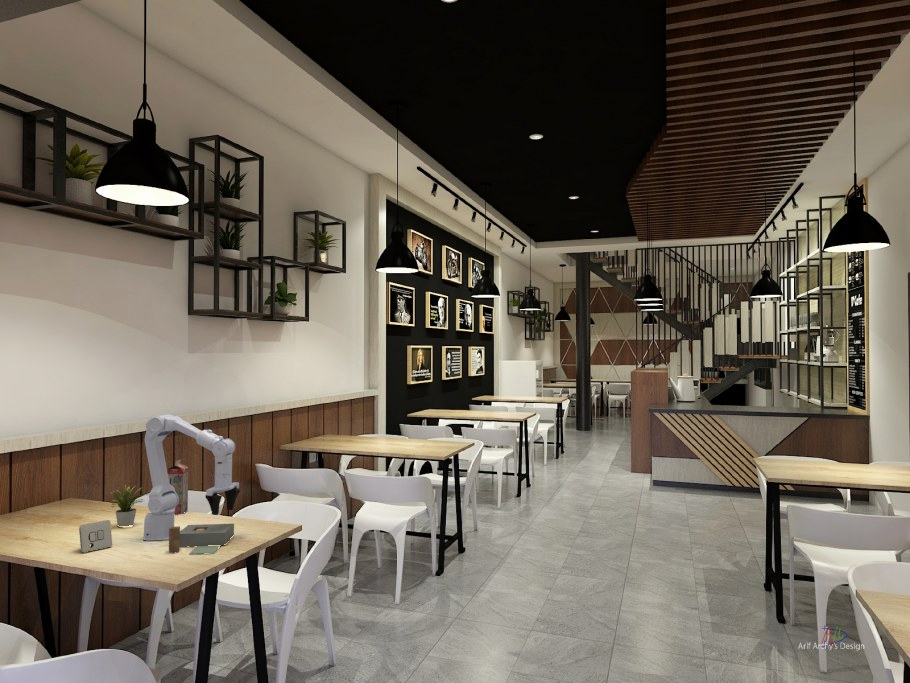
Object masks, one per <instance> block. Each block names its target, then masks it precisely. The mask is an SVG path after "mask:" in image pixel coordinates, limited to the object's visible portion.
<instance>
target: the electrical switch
mask: <svg viewBox="0 0 910 683" xmlns="http://www.w3.org/2000/svg"><path fill="white" fill-rule="evenodd" d="M78 530H79V541H80V542H79V543H80V544H79V545H80V552H81V553H82V552H87V551H92V552H94V551H93V550H97V551H99V550H98V549H101V550H104V549H103V548H106V549H108V548H107V547H110V548H112V547H113V537H112V536H113V535H112V525H111V520H110V519H105V520H100V521H94V522H89V523H83V524H80V525H79V528H78ZM111 546H112V547H111Z"/></svg>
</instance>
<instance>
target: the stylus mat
mask: <svg viewBox="0 0 910 683" xmlns="http://www.w3.org/2000/svg"><path fill="white" fill-rule="evenodd" d="M218 547H219V546H197V547H193V549H192V550H191V551H190V552H189V553H188V555H189V554H197V555H205V554H204V553H215V552H216V551H217V550H218ZM218 551H219V550H218ZM218 551H217V552H218ZM217 552H216V553H217ZM216 553H215V554H216Z"/></svg>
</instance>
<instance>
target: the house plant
mask: <svg viewBox="0 0 910 683" xmlns="http://www.w3.org/2000/svg"><path fill="white" fill-rule="evenodd" d="M136 485H137V484H135V485H133V487H132V488H131V489H130V487H131V486H128V487H127V484H125V485H124V494H123V493H122V492H121V490H120V489H117V488H116V489H115V490H112V491H110V492H109V493H110V494H111V495H113V496H114V497H115V498H116V499H112V500H111V502H114V503H111V507H112V508H115V506H117V507H118V508H120V509H117V510H115V516H116V517H115V518H116V521H117V522H116V523H117V526H118V525H119V526H129V525H133V524H134V523H135V520H136V515H137V514H136V513H137V509H136V508H133V506H135V504H137V503H143V502H145V499H143V498H142V497H144V496H149V493H148V494H144V493H143V494H140V493H141V492H142V490H141V489H143V488H144V486H142V487H139V488H138V489H137V490H135V492H134V493H133V494H132V495H131V493H132V492H133V490H134V489H135V488H136ZM144 490H145V491H146V489H144ZM115 491H116V492H117V493H116V492H115ZM137 494H139V495H137ZM140 498H141V499H140ZM133 526H134V525H133Z"/></svg>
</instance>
